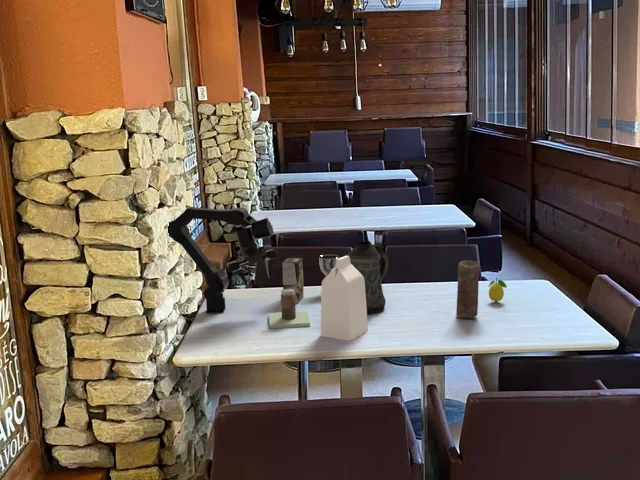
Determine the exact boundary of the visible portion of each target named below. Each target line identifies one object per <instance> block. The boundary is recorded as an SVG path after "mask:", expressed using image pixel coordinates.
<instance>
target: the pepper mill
mask: <svg viewBox="0 0 640 480" xmlns="http://www.w3.org/2000/svg"><path fill="white" fill-rule="evenodd" d="M280 293H281V294H280V308H281V309H280V311H281V312H282V319H283V320H293V319H295V318H296V312H297V311H296V309H297V308H296V303H295V294H294V290H293V289H284V290H283V289H281V290H280Z"/></svg>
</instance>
